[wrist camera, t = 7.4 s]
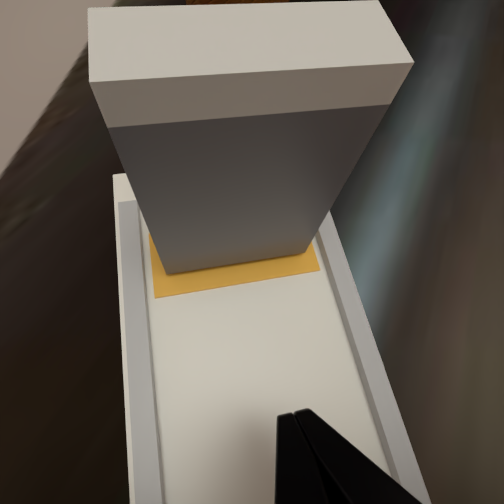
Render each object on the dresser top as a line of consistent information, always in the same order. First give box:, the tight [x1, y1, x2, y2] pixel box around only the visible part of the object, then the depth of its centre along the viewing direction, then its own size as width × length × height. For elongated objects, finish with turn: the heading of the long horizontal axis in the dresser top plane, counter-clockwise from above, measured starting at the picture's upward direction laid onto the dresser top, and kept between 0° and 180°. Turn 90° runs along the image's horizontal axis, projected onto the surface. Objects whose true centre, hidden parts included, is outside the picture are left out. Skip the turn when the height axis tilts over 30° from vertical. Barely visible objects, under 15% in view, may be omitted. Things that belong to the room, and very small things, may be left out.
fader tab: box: [88, 0, 414, 274], centre depth 10 cm, size 2×6×9 cm, turn 101°
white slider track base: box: [113, 173, 431, 504], centre depth 13 cm, size 24×10×3 cm, turn 12°
